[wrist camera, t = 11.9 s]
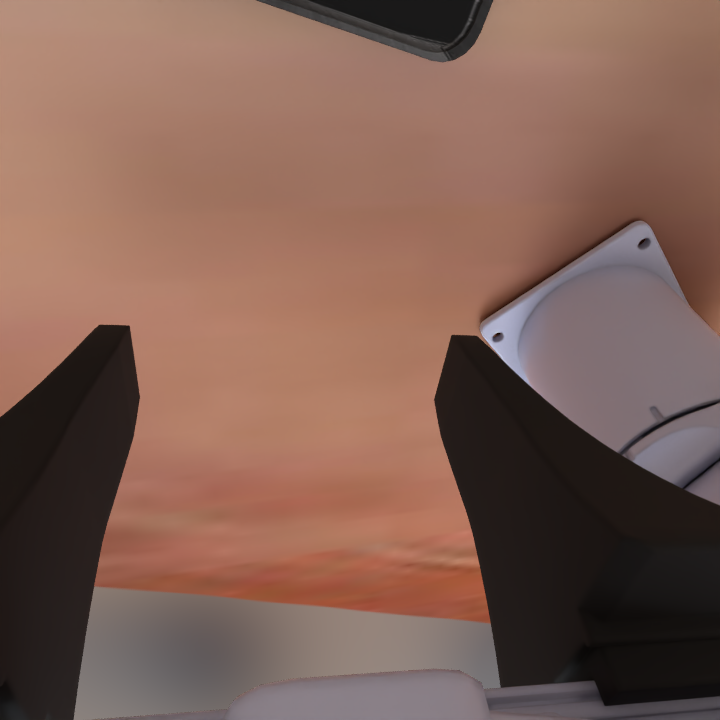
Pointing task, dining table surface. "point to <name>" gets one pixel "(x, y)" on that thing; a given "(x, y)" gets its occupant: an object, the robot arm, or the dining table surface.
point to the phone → (402, 22)
